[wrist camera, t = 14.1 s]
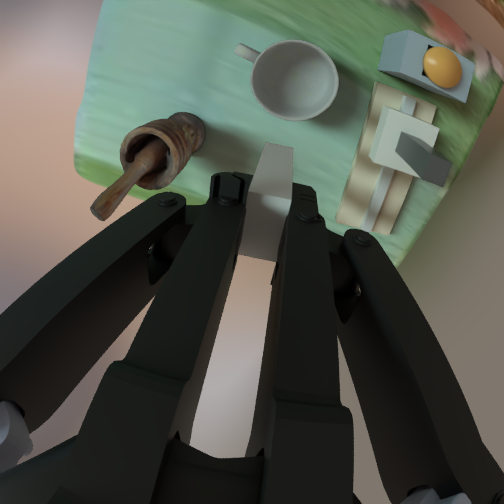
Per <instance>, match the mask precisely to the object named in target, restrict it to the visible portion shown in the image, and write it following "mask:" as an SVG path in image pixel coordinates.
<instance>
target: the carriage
mask: <svg viewBox="0 0 504 504" xmlns="http://www.w3.org/2000/svg"><path fill="white" fill-rule="evenodd" d="M438 132H439V128H437V127H436V126H434V125H432V124H430V123H428V122H425V121H423V120H421V119H419V118H417V117H414V116H411V115H409V114H406V113H403V112H401V111H399V110H397V109H394V108H391V107H387V106H385V105H383V108H382V112H381V115H380V119H379V123H378V126H377V130H376V133H375V136H374V140H373V143H372V146H371V150H370V153H369V157H370V158H371V160H372V161H373V162H374V163H377V164H380V165H383V166H387V167H390V168H393V169H396V170H399V171H402V172H404V173H407V174H410V175H413V176H416V177H419V178H421V179H423V180H426V181H428V182H431V183H434V184H436V185H439V186H441V187H443V186H444V183H445V181H446V178H447V176H448V173H449V171H450V168H451V166H452V162H450V161H449V160H448V159H447V158H445V157H444V156H443V155H441V154H440V153H439V152H438V151H436V150H435V149H434V148H433V147H434V144H435V141H436V138H437V135H438Z"/></svg>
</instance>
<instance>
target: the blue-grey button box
mask: <svg viewBox="0 0 504 504" xmlns="http://www.w3.org/2000/svg"><path fill="white" fill-rule="evenodd" d="M432 47H445V46H443V45H441V44H439V43H437V42H435V41H433V40H431V39H429V38H427V37H425V36H422V35H420V34H418V33H416V32H414V31H411V30H409V29H408V30H404V31H400V32H397V33H393V34H389V35H386V36H385V39H384V44H383V48H382V53H381V58H380V62H379V66H378V70H379V71H382V72H385V73H388V74H390V75H393V76H395V77H398V78H401V79H403V80H406V81H408V82H410V83H413V84H415V85H417V86H420V87H422V88H424V89H426V90H429V91H431V92H433V93H435V94H439V95H442V96H445V97H448V98H451V99H454V100H457V101H460V102H463V103H466V100H467V96H468V93H469V89H470V85H471V80H472V76H473V72H474V67H475V64H474V63H473V62H471V61H469V60H468V59H466V58H464V57H463V56H461V55H459V54H457V53H456V52H454V51H452V50H451V51H452V52H453V53H454V54H455V55H456V56H457V58H458V59H459V61H460V64H461V68H462V75H461V79H460V81H459V83H458V84H457V85H455V86H454V87H450V88H445V87H441V86H438V85H436V84H434V83H433V82H431V81H430V80H429V78H427V77H425V76H423V75H422V71H423V56H424V54H425V52H426V51H427V50H428V49H430V48H432ZM445 48H447V47H445ZM447 49H448V48H447ZM449 50H450V49H449Z"/></svg>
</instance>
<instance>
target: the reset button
mask: <svg viewBox="0 0 504 504" xmlns="http://www.w3.org/2000/svg"><path fill="white" fill-rule="evenodd" d="M422 75H423V76H425V77H427V78H429V80H430V81H431V82H433V83H434V84H436V85H438V86H441V87H445V88H450V87H454V86H455V85H457V84H458V83H459V81H460V79H461V75H462V68H461V64H460V61H459V59H458V58H457V56H456V55H455V54H454V53H453V52H452V51H451V50H449V49H447V48H445V47H432V48H430V49H428V50H427V51H426V52H425V54H424V56H423V71H422Z"/></svg>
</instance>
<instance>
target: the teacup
mask: <svg viewBox="0 0 504 504" xmlns="http://www.w3.org/2000/svg"><path fill="white" fill-rule="evenodd" d="M234 52H235V53H236V54H237V55H239V56H241V57H243V58H245V59H247V60H249V61H251V62H253V63H254V65H253V68H252V71H251V77H250V79H251V88H252V92H253V94H254V96H255V98H256V100H257V101H258V103H259V104H260V105H261V106H262V107H263V108H264V109H265V110H266V111H267V112H269V113H270V114H272V115H274V116H276V117H278V118H281V119H284V120H290V121H303V120H308V119H311V118H313V117H316V116H318V115H319V114H321V113H322V112H324V111H325V110H326V109H327V108H328V107H329V106H330V105H331V104H332V102H333V101H334V99H335V97H336V95H337V92H338V88H339V77H338V72H337V69H336V66H335V64H334V62H333V61H332V59H331V58H330V57H329V55H328V54H327V53H326V52H325V51H324V50H322V49H321V48H320V47H318V46H316V45H314V44H312V43H310V42H307V41H303V40H284V41H280V42H277V43H274V44H272V45H271V46H269V47H268V48H266V49H265V50H264V51H263V52H262V53H260V52H258V51H256V50H254V49H252V48H250V47H248V46H246V45H244V44H241V43H240V44H238V45H237V46H236V48H235V50H234Z"/></svg>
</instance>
